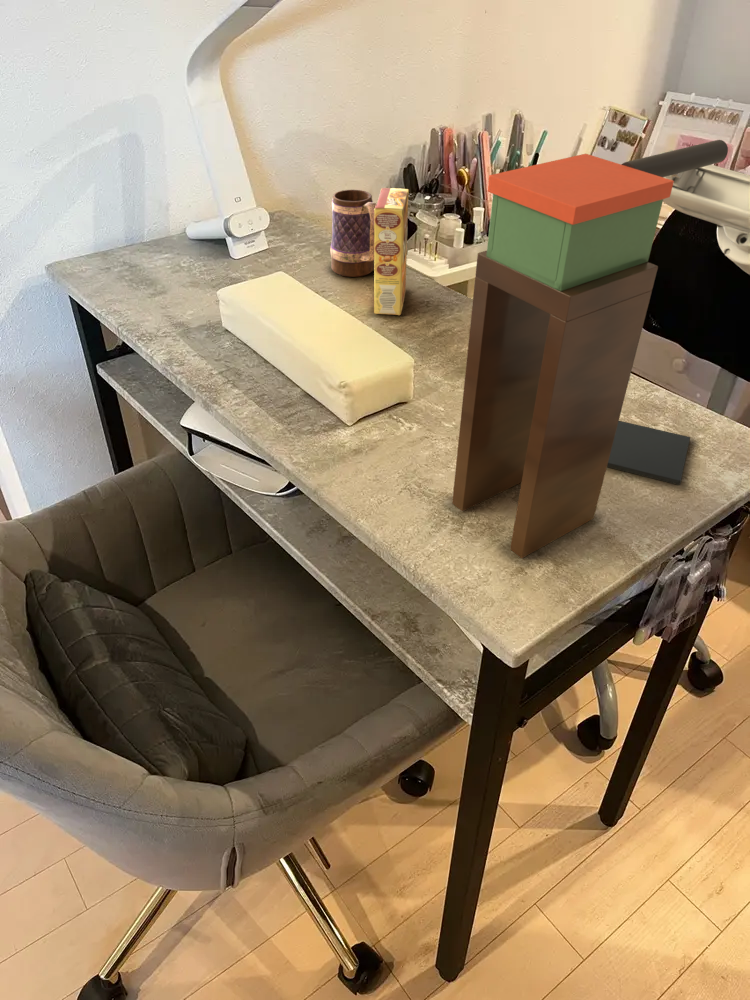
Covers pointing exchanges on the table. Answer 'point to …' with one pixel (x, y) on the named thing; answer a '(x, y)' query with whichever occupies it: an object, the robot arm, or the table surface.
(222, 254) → the table surface
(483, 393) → the stand
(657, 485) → the table surface
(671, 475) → the mat
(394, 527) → the table surface
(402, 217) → the candy box
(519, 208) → the green open box
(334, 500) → the table surface
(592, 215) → the red square paddle
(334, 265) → the mug
